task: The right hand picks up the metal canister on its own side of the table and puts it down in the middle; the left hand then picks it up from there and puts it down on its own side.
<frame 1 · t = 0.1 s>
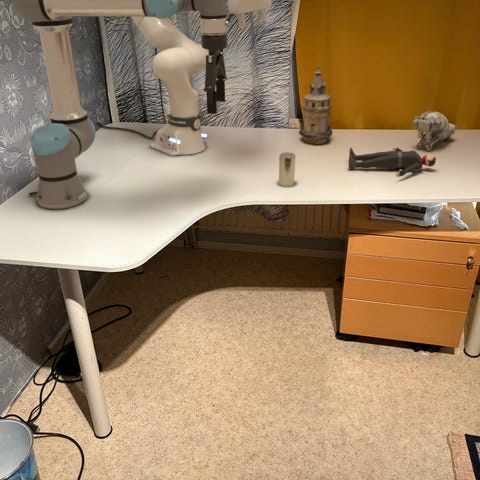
left hand: (216, 107, 164), 28 cm above the table, tool pointing down, fingers open, 13 cm apart
right hand: (250, 26, 175), 48 cm above the table, tool pointing down, fingers open, 8 cm apart
figurine: (432, 145, 213), on the table
toy: (390, 168, 193), on the table
canister: (286, 183, 182), on the table
miniature building: (315, 140, 221), on the table
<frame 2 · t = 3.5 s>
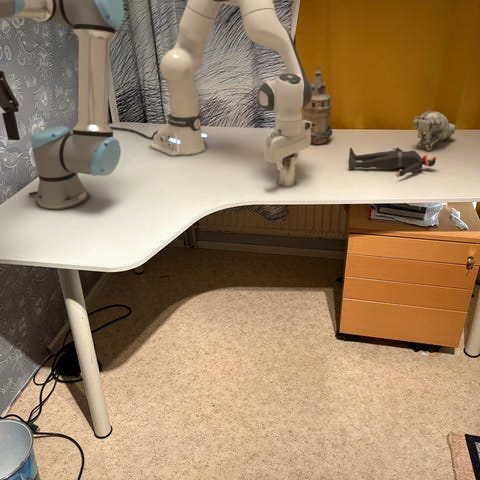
right hand: (287, 166, 180), 6 cm above the table, tool pointing down, fingers closed on canister, 5 cm apart
canister: (286, 183, 182), on the table, touching right hand
everything else where it was.
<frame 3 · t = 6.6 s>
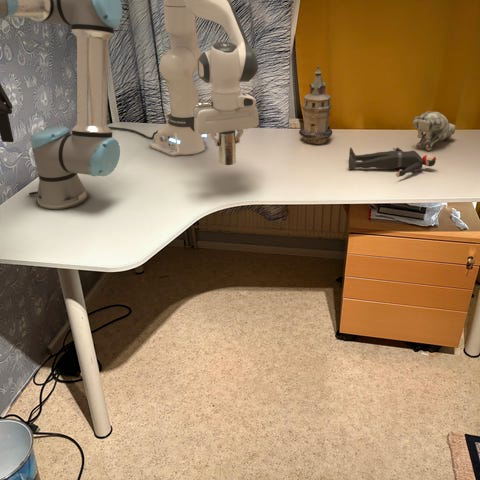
right hand: (227, 144, 167), 17 cm above the table, tool pointing down, fingers closed on canister, 5 cm apart
canister: (227, 162, 170), point 11 cm above the table, touching right hand
everything else where it was.
when the right hand's fingers open (7 cm above the table, at t = 10.0 s): canister drops 1 cm, on the table.
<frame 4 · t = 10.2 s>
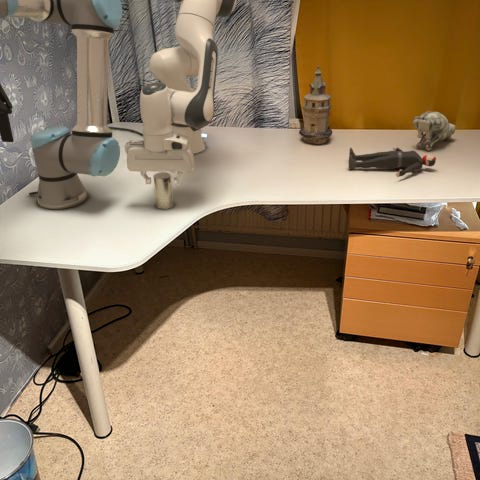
right hand: (162, 183, 165), 7 cm above the table, tool pointing down, fingers open, 7 cm apart
canister: (164, 205, 169), on the table
everything else where it was.
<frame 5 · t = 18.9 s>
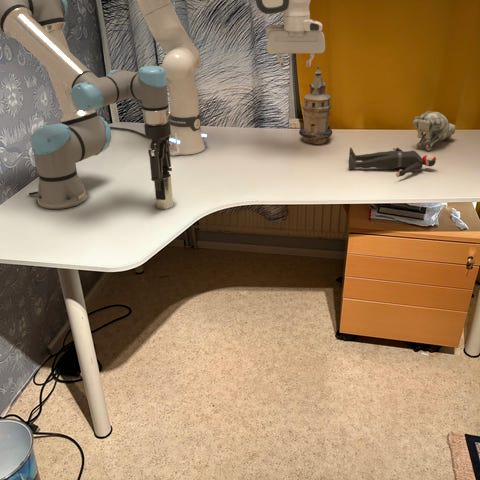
left hand: (163, 195, 167), 4 cm above the table, tool pointing down, fingers closed on canister, 5 cm apart
right hand: (295, 66, 189), 33 cm above the table, tool pointing down, fingers open, 8 cm apart
canister: (164, 205, 169), on the table, touching left hand
everything else where it was.
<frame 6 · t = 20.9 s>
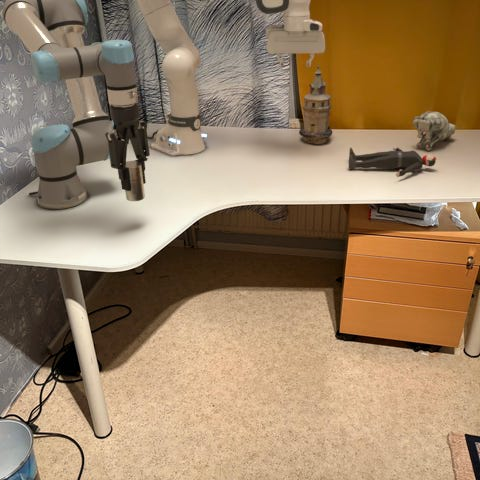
left hand: (133, 185, 151), 13 cm above the table, tool pointing down, fingers closed on canister, 5 cm apart
right hand: (295, 66, 189), 33 cm above the table, tool pointing down, fingers open, 8 cm apart
canister: (135, 197, 152), point 9 cm above the table, touching left hand
everything else where it was.
when the left hand's fingers open (5 cm above the table, at t = 22.9 s): canister drops 1 cm, on the table.
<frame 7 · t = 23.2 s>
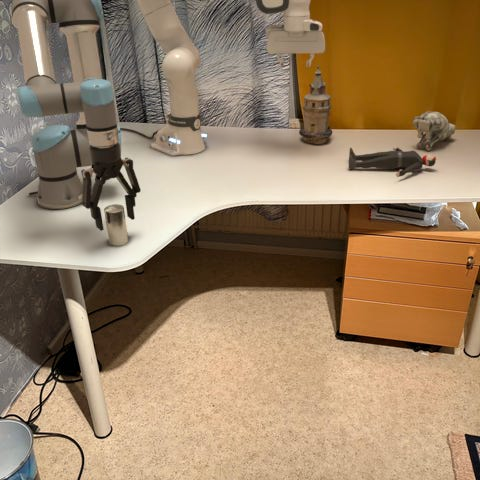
left hand: (115, 223, 146), 6 cm above the table, tool pointing down, fingers open, 9 cm apart
right hand: (295, 66, 189), 33 cm above the table, tool pointing down, fingers open, 8 cm apart
canister: (118, 241, 149), on the table
everything else where it was.
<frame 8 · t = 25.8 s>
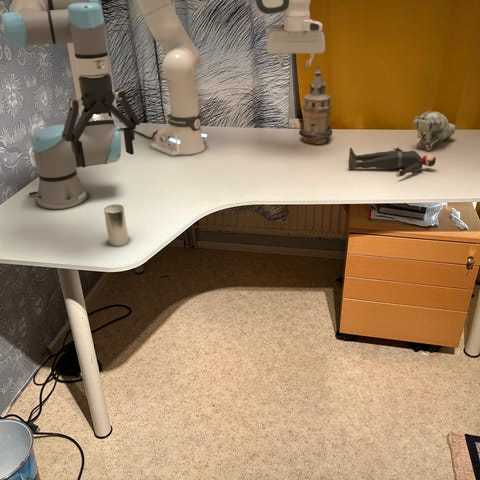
left hand: (106, 159, 137), 24 cm above the table, tool pointing down, fingers open, 13 cm apart
right hand: (295, 66, 189), 33 cm above the table, tool pointing down, fingers open, 8 cm apart
nothing on the table moved.
at the end: canister inside the target area (0.0 cm from its centre), on the table; canister tilted 0°; the two hands never held the canister at the same time; the left hand is holding nothing; the right hand is holding nothing; canister at rest at the end (0.0 cm/s) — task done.
